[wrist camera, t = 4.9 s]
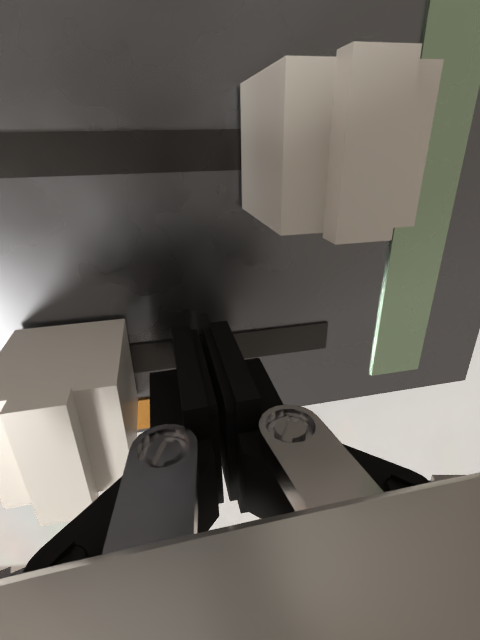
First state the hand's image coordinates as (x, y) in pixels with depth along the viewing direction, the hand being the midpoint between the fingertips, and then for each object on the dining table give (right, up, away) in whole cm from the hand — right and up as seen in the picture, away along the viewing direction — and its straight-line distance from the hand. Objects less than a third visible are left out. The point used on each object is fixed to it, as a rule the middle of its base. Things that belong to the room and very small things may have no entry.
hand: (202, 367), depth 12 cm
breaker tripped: (-4, 0, 0) cm, 4 cm away
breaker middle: (+3, +6, -1) cm, 7 cm away
